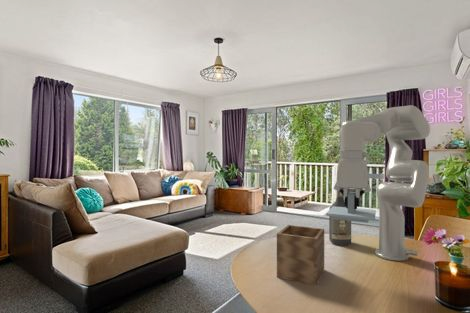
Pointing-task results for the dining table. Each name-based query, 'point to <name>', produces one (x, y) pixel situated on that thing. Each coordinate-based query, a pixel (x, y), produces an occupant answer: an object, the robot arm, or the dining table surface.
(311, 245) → the crate
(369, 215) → the lid
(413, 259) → the dining table surface
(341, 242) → the liquor
